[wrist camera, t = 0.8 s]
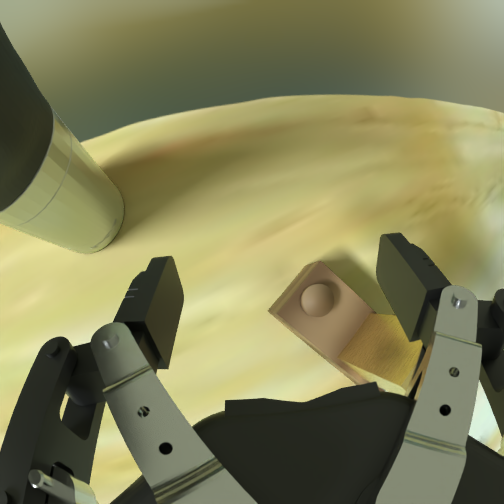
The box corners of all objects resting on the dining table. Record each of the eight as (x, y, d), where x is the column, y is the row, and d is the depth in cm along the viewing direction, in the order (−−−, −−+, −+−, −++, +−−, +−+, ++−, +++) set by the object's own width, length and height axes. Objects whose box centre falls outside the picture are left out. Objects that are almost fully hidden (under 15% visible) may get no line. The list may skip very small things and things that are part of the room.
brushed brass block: (336, 357, 26) (400, 386, 16) (372, 309, 28) (445, 312, 17) (362, 378, 26) (428, 410, 16) (395, 332, 27) (469, 342, 17)
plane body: (267, 311, 31) (279, 314, 25) (305, 265, 32) (324, 258, 26) (359, 386, 31) (384, 401, 25) (390, 344, 32) (419, 350, 26)
